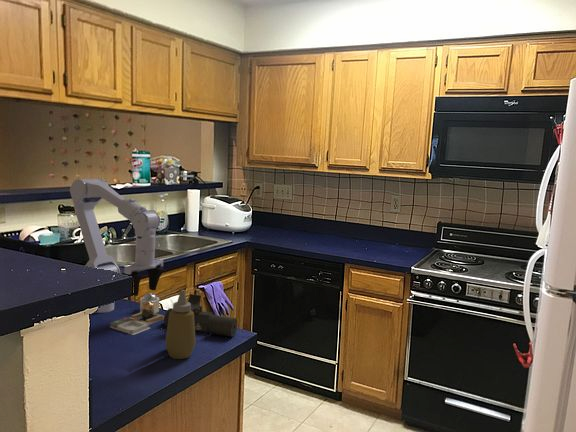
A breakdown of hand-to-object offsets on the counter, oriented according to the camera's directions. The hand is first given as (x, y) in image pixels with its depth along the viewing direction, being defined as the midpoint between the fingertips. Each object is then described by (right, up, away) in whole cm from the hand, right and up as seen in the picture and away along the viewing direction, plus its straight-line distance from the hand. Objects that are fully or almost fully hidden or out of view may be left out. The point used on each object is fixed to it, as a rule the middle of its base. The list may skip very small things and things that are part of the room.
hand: (143, 292), depth 148 cm
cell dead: (-1, -8, +10) cm, 12 cm away
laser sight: (+18, -12, -2) cm, 22 cm away
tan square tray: (+1, -10, +2) cm, 10 cm away
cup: (-1, -9, +10) cm, 13 cm away
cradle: (-1, -11, -6) cm, 12 cm away
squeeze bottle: (+16, -14, -20) cm, 29 cm away
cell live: (+1, -9, +1) cm, 9 cm away
